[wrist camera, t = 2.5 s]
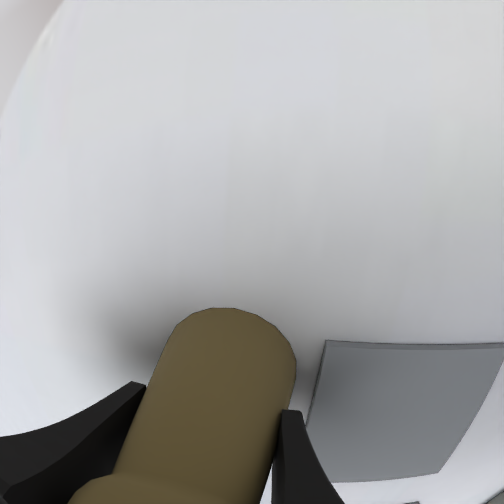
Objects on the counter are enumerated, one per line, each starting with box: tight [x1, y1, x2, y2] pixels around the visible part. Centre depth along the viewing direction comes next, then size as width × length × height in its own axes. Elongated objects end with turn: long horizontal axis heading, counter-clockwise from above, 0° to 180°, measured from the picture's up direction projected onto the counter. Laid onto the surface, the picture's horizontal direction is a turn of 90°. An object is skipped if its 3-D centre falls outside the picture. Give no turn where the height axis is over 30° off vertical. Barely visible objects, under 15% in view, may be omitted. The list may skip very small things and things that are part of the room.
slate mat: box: [306, 340, 504, 483], centre depth 13 cm, size 10×10×1 cm
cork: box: [67, 308, 296, 504], centre depth 8 cm, size 6×6×11 cm
